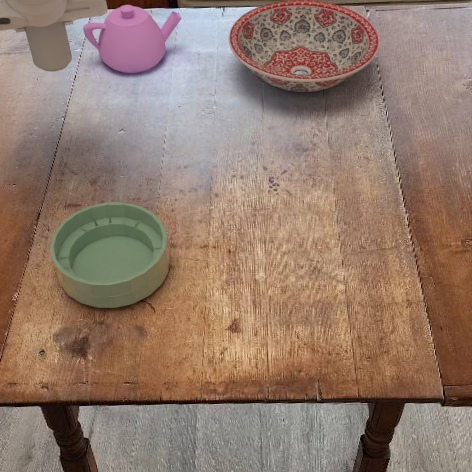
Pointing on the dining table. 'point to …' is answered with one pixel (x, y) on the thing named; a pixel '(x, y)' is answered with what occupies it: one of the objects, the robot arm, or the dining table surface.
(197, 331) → the dining table surface
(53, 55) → the beverage can
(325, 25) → the ceramic bowl
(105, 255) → the green bowl
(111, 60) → the teapot
